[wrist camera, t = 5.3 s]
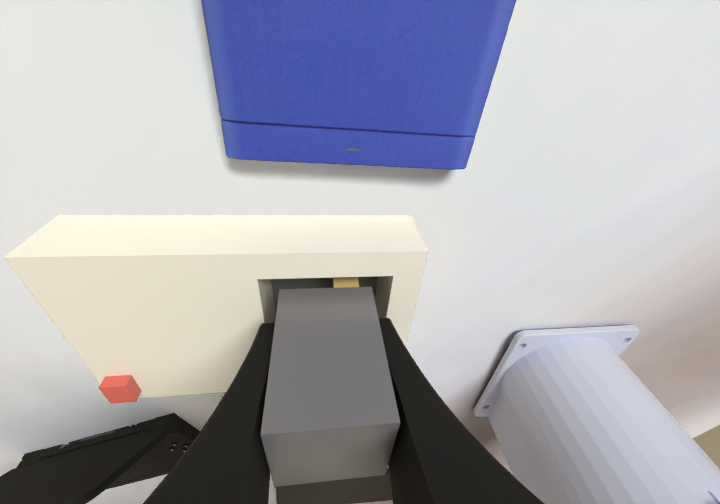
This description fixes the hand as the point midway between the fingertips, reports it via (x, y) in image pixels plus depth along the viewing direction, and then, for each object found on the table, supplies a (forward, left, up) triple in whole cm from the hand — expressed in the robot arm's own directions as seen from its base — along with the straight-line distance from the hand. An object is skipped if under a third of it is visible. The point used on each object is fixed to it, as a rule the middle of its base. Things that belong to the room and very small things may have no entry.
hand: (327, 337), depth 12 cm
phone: (-27, -3, -4) cm, 27 cm away
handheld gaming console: (-14, +14, -4) cm, 20 cm away
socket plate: (-1, +3, -3) cm, 4 cm away
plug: (0, 0, -2) cm, 2 cm away
